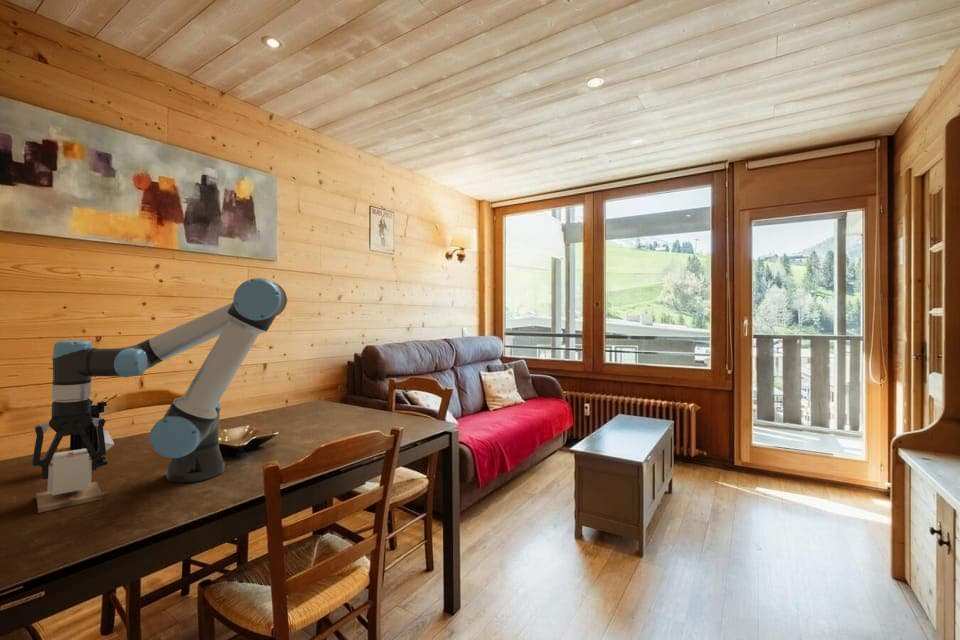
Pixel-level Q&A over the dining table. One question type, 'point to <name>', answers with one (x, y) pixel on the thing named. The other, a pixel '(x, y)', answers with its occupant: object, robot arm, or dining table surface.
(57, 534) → the dining table surface
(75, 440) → the chess piece
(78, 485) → the cream white block
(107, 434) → the die
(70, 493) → the d post
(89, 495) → the hub plate
